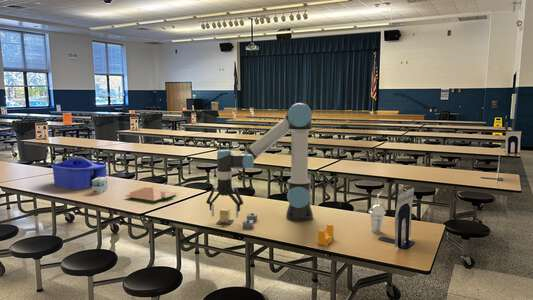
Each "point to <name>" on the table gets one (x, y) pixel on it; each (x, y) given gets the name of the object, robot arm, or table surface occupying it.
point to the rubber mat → (225, 223)
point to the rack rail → (250, 221)
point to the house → (151, 194)
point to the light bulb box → (99, 185)
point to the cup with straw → (377, 216)
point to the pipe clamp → (325, 235)
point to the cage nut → (224, 215)
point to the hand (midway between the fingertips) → (224, 216)
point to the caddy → (77, 172)
